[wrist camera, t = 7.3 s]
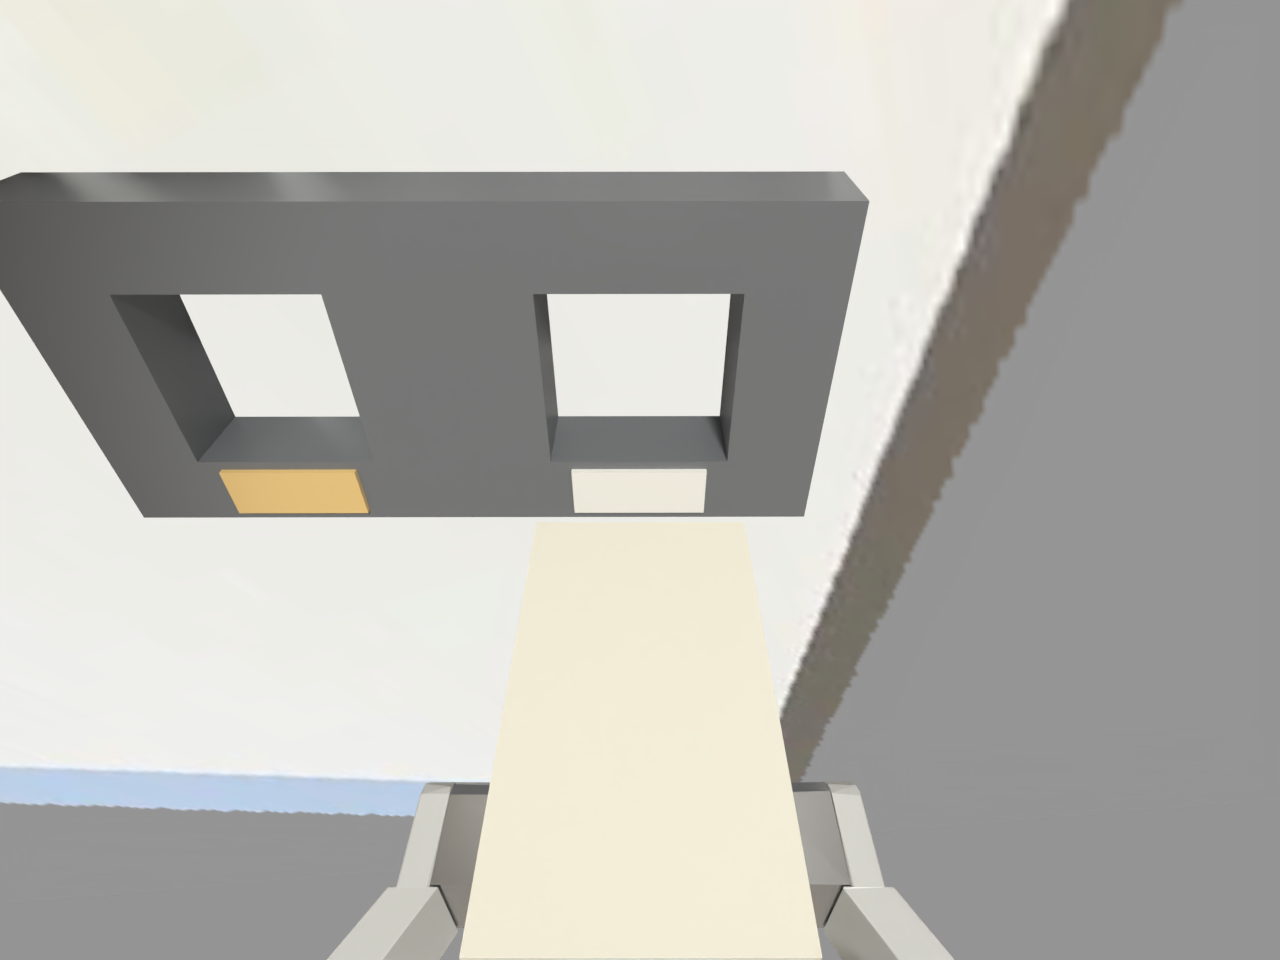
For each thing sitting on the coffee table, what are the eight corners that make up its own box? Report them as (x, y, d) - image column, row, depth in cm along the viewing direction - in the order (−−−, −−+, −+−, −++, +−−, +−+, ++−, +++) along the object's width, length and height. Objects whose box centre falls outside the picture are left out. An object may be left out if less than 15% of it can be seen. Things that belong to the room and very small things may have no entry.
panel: (20, 172, 21) (-61, 204, 19) (844, 171, 21) (871, 202, 19) (183, 470, 29) (140, 521, 26) (790, 469, 29) (805, 520, 26)
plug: (536, 522, 15) (427, 1136, 7) (743, 522, 15) (854, 1136, 7) (553, 651, 17) (487, 1189, 10) (727, 651, 17) (794, 1189, 10)
